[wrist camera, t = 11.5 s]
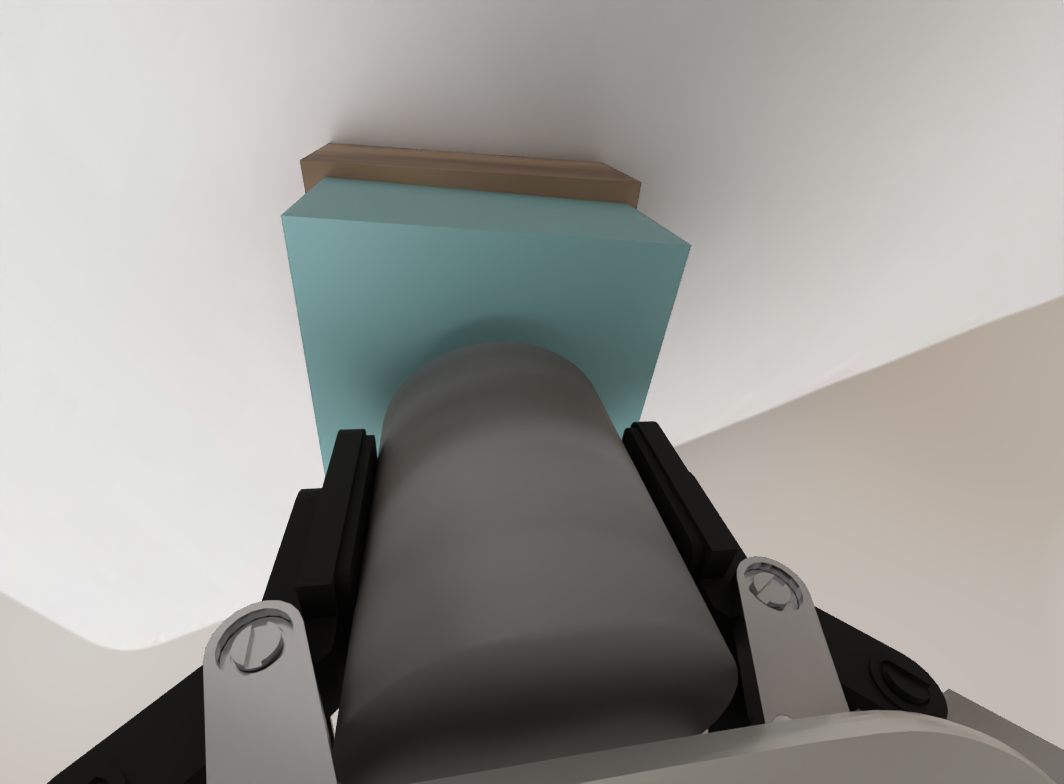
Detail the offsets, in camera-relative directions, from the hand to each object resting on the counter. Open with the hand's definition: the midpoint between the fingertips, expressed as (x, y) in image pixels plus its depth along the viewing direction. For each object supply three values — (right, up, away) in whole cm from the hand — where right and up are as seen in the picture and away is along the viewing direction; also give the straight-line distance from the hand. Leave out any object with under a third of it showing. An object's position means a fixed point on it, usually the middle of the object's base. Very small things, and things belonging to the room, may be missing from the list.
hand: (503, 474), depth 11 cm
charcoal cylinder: (0, +1, +1) cm, 1 cm away
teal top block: (-1, +5, +7) cm, 8 cm away
